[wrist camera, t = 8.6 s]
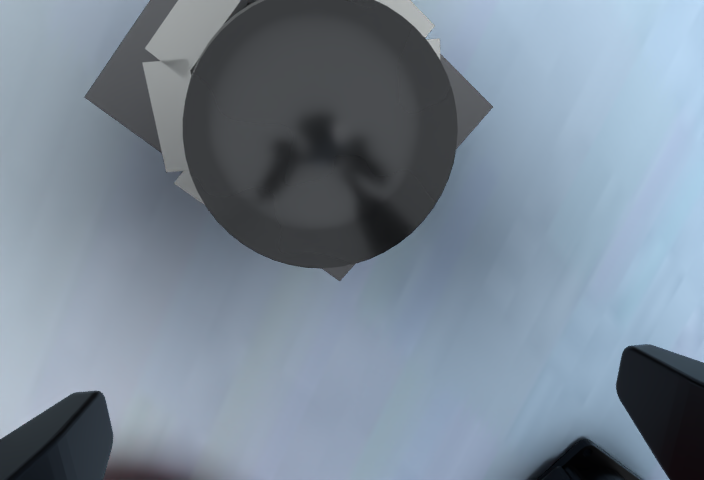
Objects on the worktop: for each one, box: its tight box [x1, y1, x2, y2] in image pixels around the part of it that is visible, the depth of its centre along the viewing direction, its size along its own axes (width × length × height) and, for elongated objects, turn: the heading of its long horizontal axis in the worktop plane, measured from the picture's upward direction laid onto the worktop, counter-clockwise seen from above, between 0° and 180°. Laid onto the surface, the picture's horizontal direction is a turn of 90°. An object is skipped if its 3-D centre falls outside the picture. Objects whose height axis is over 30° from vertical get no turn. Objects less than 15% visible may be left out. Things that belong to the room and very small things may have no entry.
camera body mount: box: [85, 0, 493, 281], centre depth 16 cm, size 10×8×4 cm
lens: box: [183, 0, 458, 268], centre depth 11 cm, size 5×5×8 cm
